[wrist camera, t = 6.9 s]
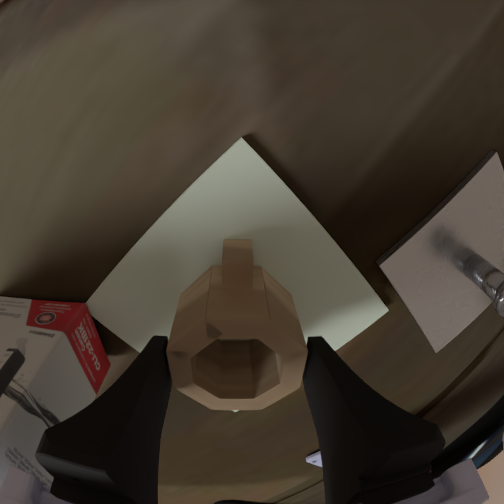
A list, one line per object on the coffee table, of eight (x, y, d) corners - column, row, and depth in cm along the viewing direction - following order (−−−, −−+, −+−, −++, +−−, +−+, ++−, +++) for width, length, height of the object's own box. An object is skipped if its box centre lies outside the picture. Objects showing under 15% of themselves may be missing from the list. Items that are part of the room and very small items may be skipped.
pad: (385, 305, 16) (388, 310, 16) (235, 406, 19) (235, 412, 19) (241, 137, 12) (241, 137, 12) (85, 302, 15) (82, 308, 14)
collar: (283, 351, 16) (294, 407, 13) (186, 351, 16) (178, 408, 12) (298, 240, 13) (320, 287, 10) (176, 238, 13) (156, 285, 10)
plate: (521, 261, 16) (558, 289, 12) (433, 348, 18) (461, 391, 14) (491, 150, 12) (547, 168, 8) (375, 261, 15) (416, 310, 11)
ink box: (87, 298, 14) (-27, 488, 3) (113, 365, 16) (48, 534, 5) (-6, 292, 14) (-105, 409, 4) (21, 349, 16) (-52, 467, 6)
